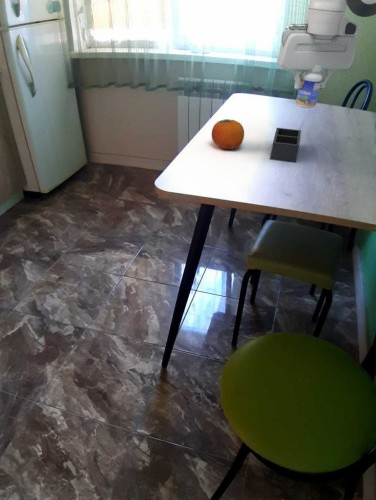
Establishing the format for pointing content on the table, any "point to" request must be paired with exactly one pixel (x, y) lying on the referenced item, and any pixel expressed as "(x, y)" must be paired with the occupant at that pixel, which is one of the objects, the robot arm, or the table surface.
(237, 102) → the table surface
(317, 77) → the pill bottle
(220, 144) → the fruit
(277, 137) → the open box
